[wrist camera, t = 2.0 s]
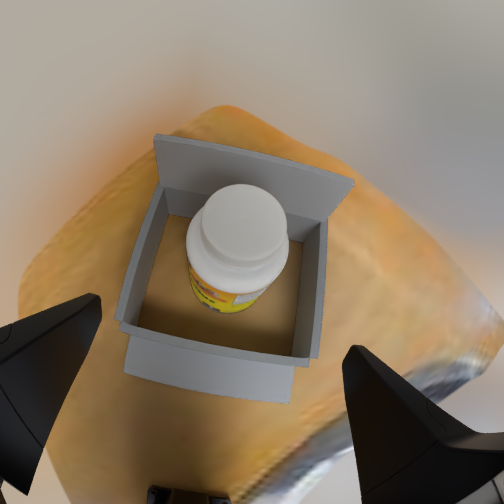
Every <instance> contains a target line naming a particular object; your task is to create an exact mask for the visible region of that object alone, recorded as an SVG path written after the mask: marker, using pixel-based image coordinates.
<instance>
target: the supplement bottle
mask: <svg viewBox="0 0 504 504" xmlns="http://www.w3.org/2000/svg"><path fill="white" fill-rule="evenodd" d="M186 251H187V258H188V266H189V273H190V280H191V285H192V289H193V291H194V294H195V295H196V297H197V298H198V300H199V301H200V302H201V303H202V304H203V305H204V306H205V307H207V308H208V309H210V310H212V311H214V312H217V313H222V314H233V313H238V312H241V311H243V310H245V309H247V308H248V307H249V306H251V305H252V304H253V303H254V302H255V301H256V300H257V299H258V298H259V297H260V295H261V294H262V293H263V292H264V291H265V290H266V289H267V288H268V287H269V286H270V285H271V283H272V282H273V281H274V280H275V279H276V278H277V277H278V276H279V274H280V273H281V271H282V270H283V268H284V266H285V264H286V261H287V258H288V252H289V240H288V235H287V220H286V216H285V213H284V210H283V208H282V207H281V205H280V203H279V202H278V201H277V200H276V199H275V197H273V196H272V195H271V194H270V193H268V192H267V191H265V190H263V189H261V188H259V187H256V186H252V185H247V184H235V185H230V186H227V187H224V188H222V189H220V190H218V191H217V192H215V193H214V194H213V195H212V196H211V197H210V198H209V199H208V200H207V202H206V204H205V206H204V207H202V208H201V209H200V210H199V211H198V212H197V214H196V215H195V216H194V218H193V219H192V221H191V223H190V225H189V228H188V231H187V236H186Z"/></svg>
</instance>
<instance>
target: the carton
mask: <svg viewBox="0 0 504 504" xmlns="http://www.w3.org/2000/svg"><path fill="white" fill-rule="evenodd" d="M153 141H154V148H155V155H156V161H157V167H158V173H159V179H160V180H159V182H158V184H157V187H156V189H155V192H154V194H153V197H152V199H151V202H150V205H149V207H148V210H147V213H146V215H145V218H144V221H143V224H142V226H141V229H140V232H139V235H138V238H137V241H136V244H135V247H134V250H133V253H132V256H131V259H130V263H129V266H128V269H127V273H126V276H125V279H124V283H123V286H122V290H121V294H120V297H119V301H118V305H117V309H116V313H115V317H114V319H116V320H118V321H120V322H121V323H120V327H119V331H121V332H124V333H127V334H130V338H129V343H128V348H127V353H126V358H125V364H124V369H123V373H126V374H130V375H133V376H137V377H140V378H144V379H147V380H151V381H155V382H158V383H162V384H166V385H171V386H175V387H179V388H184V389H188V390H193V391H198V392H203V393H209V394H214V395H220V396H226V397H233V398H240V399H247V400H256V401H265V402H275V403H288V404H289V403H290V396H291V390H292V384H293V377H294V370H295V367H309V360H310V359H318V355H319V347H320V337H321V328H322V317H323V306H324V293H325V278H326V260H327V235H328V217H329V216H330V215H331V214H332V212H333V211H334V210H335V209H336V208H337V206H338V205H339V204H340V203H341V201H342V200H343V199H344V198H345V197H346V195H347V194H348V193H349V192H350V190H351V189H352V188H353V187H354V179H351V178H348V177H345V176H342V175H339V174H336V173H333V172H330V171H326V170H323V169H320V168H316V167H313V166H309V165H306V164H302V163H299V162H295V161H291V160H287V159H284V158H280V157H276V156H272V155H268V154H264V153H259V152H255V151H251V150H246V149H242V148H237V147H232V146H227V145H222V144H217V143H212V142H206V141H201V140H195V139H189V138H183V137H176V136H169V135H161V134H156V135H155V137H154V139H153ZM235 184H247V185H252V186H256V187H259V188H261V189H263V190H265V191H267V192H268V193H270V194H271V195H272V196H273V197H275V199H276V200H277V201H278V202H279V203H280V205H281V207H282V208H283V210H284V213H285V216H286V220H287V235H288V240H292V241H297V242H301V243H303V253H302V265H301V275H300V286H299V295H298V304H297V313H296V322H295V330H294V338H293V346H292V353H291V357H288V356H280V355H272V354H265V353H259V352H252V351H246V350H240V349H234V348H228V347H223V346H218V345H213V344H208V343H203V342H198V341H193V340H189V339H184V338H180V337H175V336H171V335H167V334H163V333H159V332H155V331H151V330H147V329H144V328H140V327H137V326H138V321H139V317H140V313H141V309H142V305H143V301H144V297H145V293H146V289H147V285H148V281H149V278H150V274H151V270H152V267H153V263H154V260H155V256H156V253H157V250H158V246H159V243H160V240H161V237H162V233H163V230H164V227H165V224H166V221H167V218H168V215H169V214H171V215H176V216H181V217H186V218H191V219H193V218H194V216H195V215H196V214H197V212H198V211H199V210H200V209H201V208H202V207H204V206H205V204H206V202H207V200H208V199H209V198H210V197H211V196H212V195H213V194H214V193H215V192H217V191H218V190H220V189H222V188H224V187H227V186H230V185H235Z"/></svg>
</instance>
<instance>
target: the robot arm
mask: <svg viewBox="0 0 504 504" xmlns="http://www.w3.org/2000/svg"><path fill="white" fill-rule="evenodd" d="M101 319H102V308H101V298H100V296H99V295H96V294H93V293H87V294H85V295H82V296H80V297H77V298H74V299H72V300H69V301H67V302H64V303H62V304H59V305H56V306H54V307H51V308H49V309H46V310H44V311H41V312H39V313H36V314H33V315H31V316H28V317H26V318H23V319H21V320H18V321H16V322H14V323H13V324H12V323H11V324H8V325H6V326H4V327H1V328H0V488H1V486H2V483H3V481H6V482H7V483H9V484H10V485H11V486H13V487H14V488H16V489H17V490H19V491H20V492H22V493H23V494H25V495H28V493H29V490H30V487H31V484H32V481H33V477H34V474H35V472H36V469H37V466H38V463H39V460H40V457H41V455H42V452H43V448H44V446H45V444H46V441H47V439H48V436H49V434H50V432H51V429H52V427H53V424H54V422H55V420H56V418H57V415H58V413H59V411H60V409H61V406H62V404H63V402H64V400H65V398H66V396H67V394H68V391H69V389H70V387H71V385H72V383H73V381H74V379H75V377H76V375H77V373H78V371H79V369H80V368H81V366H82V364H83V362H84V360H85V358H86V356H87V354H88V351H89V349H90V346H91V344H92V341H93V339H94V337H95V334H96V332H97V329H98V327H99V325H100V322H101ZM342 372H343V382H344V393H345V402H346V407H347V412H348V418H349V423H350V428H351V434H352V439H353V445H354V451H355V457H356V463H357V469H358V477H359V484H360V491H361V496H362V497H361V500H362V504H504V432H499V433H479V432H476V431H473V430H472V429H470V428H469V427H467V426H466V425H464V424H463V423H461V422H460V421H458V420H456V419H455V418H454V417H452V416H451V415H449V414H448V413H447V412H445V411H444V410H442V409H441V408H440V407H439V406H437V405H436V404H435V403H433V402H432V401H431V400H430V399H428V398H427V397H426V396H425V395H423V394H422V393H421V392H420V391H418V390H417V389H416V388H415V387H413V386H412V385H411V384H410V383H408V382H407V381H406V380H405V379H404V378H402V377H401V376H400V375H399V374H397V373H396V372H395V371H394V370H392V369H391V368H390V367H389V366H387V365H386V364H385V363H384V362H383V361H381V360H380V359H379V358H378V357H376V356H375V355H374V354H373V353H371V352H370V351H369V350H368V349H366V348H365V347H364V346H362V345H352V346H351V347H350V349H349V351H348V353H347V354H346V356H345V358H344V360H343V362H342ZM152 490H156V491H157V492H153V491H152ZM223 502H227V504H231V501H230V499H228V498H225V497H215V496H208V495H206V494H202V493H195V492H189V491H184V490H178V489H174V490H172V489H168V488H163V487H159V486H154V485H152V486H150V487H149V489H148V493H147V504H222V503H223ZM0 504H6V501H5V499H4V497H3V494H2V492H1V489H0Z"/></svg>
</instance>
